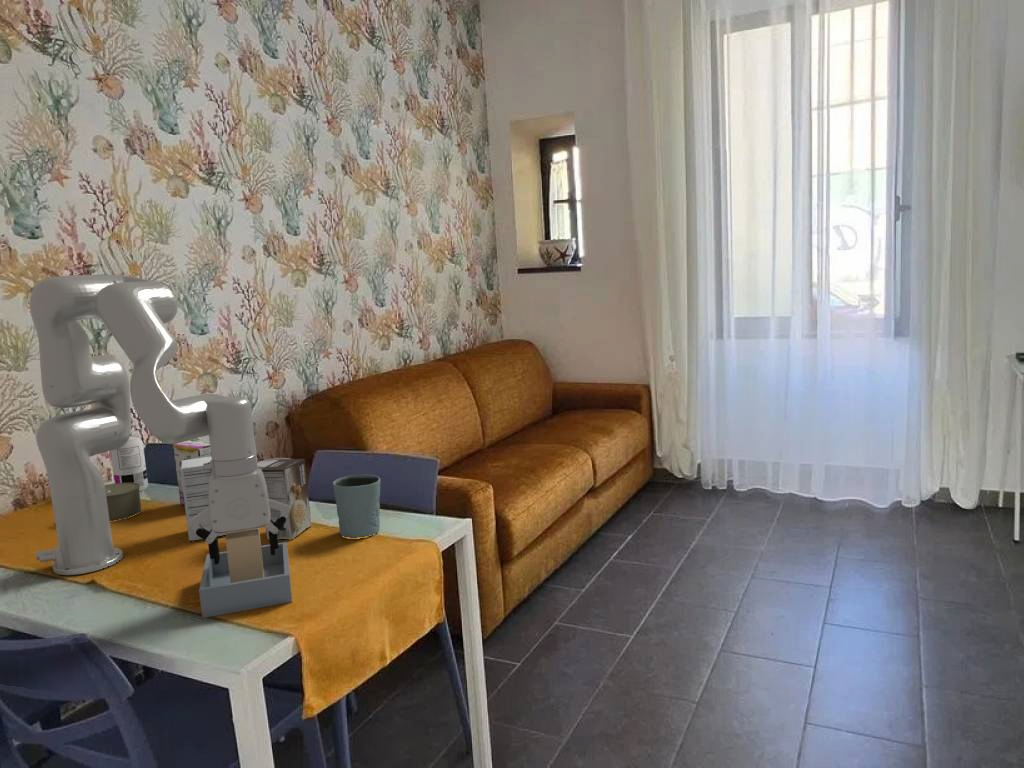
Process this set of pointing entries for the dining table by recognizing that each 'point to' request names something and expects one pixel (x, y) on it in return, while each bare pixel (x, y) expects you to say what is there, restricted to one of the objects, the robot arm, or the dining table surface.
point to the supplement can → (130, 463)
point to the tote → (245, 584)
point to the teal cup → (358, 505)
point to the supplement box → (196, 491)
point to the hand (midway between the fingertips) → (245, 557)
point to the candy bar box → (185, 453)
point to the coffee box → (289, 495)
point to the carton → (244, 555)
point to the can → (122, 500)
